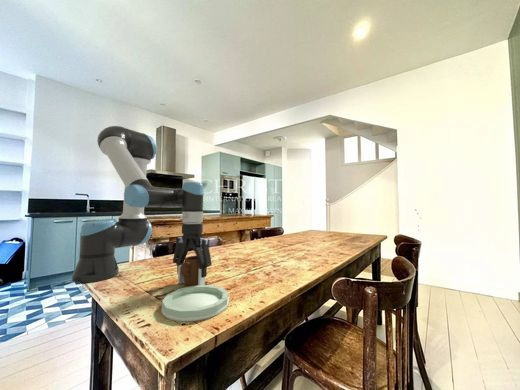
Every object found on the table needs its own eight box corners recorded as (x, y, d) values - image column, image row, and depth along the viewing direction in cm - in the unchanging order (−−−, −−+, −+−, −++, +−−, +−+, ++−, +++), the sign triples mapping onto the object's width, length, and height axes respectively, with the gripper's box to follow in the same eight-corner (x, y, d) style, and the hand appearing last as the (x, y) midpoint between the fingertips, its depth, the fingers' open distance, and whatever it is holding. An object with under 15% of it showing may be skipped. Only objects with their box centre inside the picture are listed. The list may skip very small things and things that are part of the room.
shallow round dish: (145, 312, 58) (146, 303, 58) (193, 288, 75) (193, 281, 75) (201, 328, 50) (201, 317, 50) (240, 298, 67) (240, 290, 67)
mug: (190, 292, 72) (190, 263, 72) (171, 289, 74) (172, 262, 75) (208, 280, 83) (208, 256, 84) (191, 278, 85) (192, 255, 86)
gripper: (163, 222, 81) (161, 283, 80) (209, 224, 72) (208, 292, 71) (178, 221, 88) (176, 277, 87) (222, 223, 79) (221, 285, 78)
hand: (191, 284), depth 79 cm, fingers open, 9 cm apart
